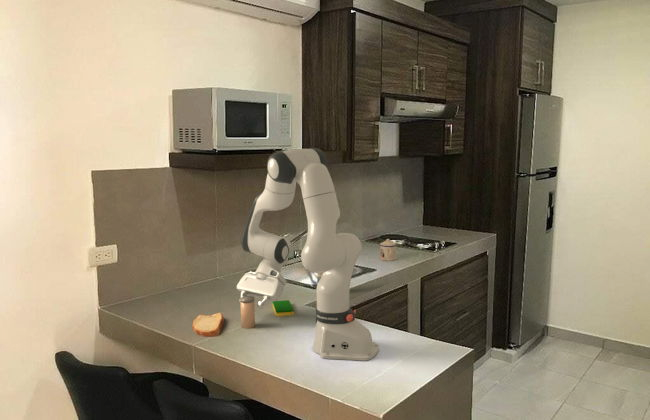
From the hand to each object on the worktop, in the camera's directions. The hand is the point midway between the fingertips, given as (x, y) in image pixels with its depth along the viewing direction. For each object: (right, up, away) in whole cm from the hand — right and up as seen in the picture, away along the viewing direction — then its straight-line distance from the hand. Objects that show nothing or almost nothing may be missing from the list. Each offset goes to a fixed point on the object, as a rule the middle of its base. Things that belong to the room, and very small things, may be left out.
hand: (250, 305), depth 212 cm
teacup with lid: (+64, +8, +101) cm, 120 cm away
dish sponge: (+11, -6, +18) cm, 22 cm away
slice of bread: (-15, -9, 0) cm, 17 cm away
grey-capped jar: (-1, -8, 0) cm, 8 cm away
